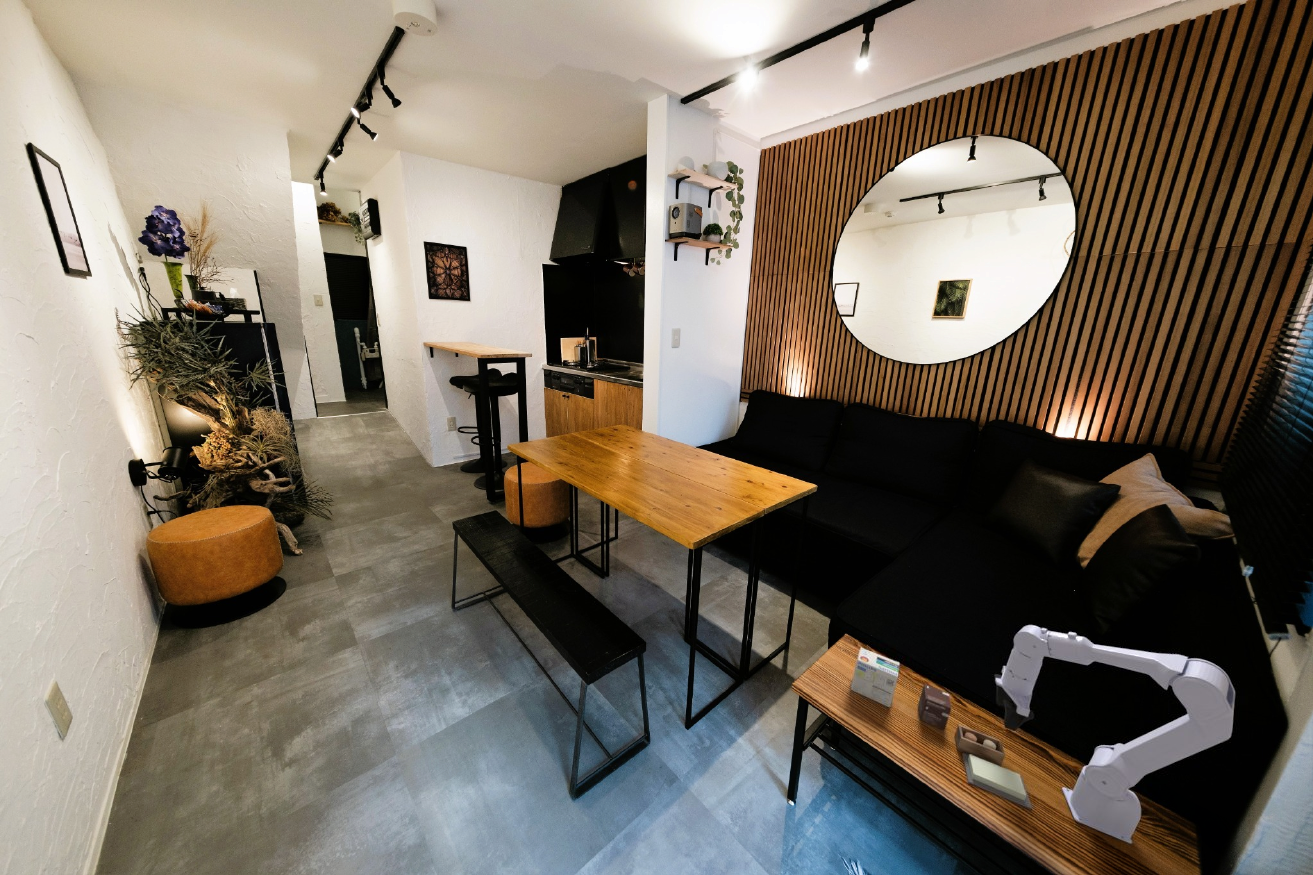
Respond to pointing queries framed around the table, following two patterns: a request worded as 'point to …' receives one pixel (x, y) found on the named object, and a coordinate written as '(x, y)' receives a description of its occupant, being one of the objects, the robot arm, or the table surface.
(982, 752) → the crate
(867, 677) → the light bulb box
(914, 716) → the table surface
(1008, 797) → the mat
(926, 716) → the box
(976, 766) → the lid
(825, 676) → the table surface
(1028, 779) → the table surface
